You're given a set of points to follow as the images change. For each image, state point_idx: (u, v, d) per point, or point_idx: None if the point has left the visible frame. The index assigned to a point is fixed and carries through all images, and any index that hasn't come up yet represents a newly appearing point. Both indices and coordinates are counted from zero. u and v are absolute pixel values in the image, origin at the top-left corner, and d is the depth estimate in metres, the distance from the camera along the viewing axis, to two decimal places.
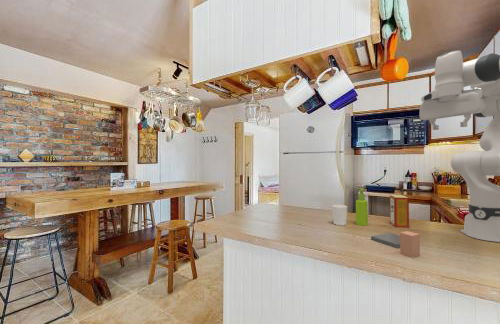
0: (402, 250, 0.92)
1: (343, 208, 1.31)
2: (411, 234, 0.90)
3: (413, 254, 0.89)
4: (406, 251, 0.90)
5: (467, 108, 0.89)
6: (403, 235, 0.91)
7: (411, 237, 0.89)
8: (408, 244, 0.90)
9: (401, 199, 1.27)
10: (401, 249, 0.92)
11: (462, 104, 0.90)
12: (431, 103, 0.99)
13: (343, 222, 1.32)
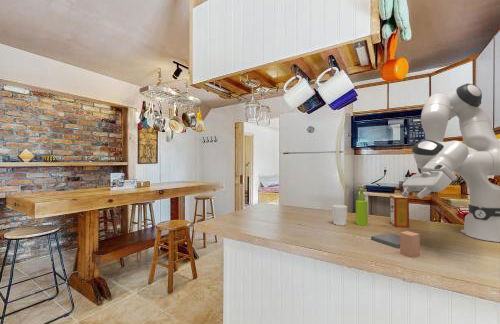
0: (402, 250, 0.92)
1: (343, 208, 1.31)
2: (411, 234, 0.90)
3: (413, 254, 0.89)
4: (406, 251, 0.90)
5: None
6: (403, 235, 0.91)
7: (411, 237, 0.89)
8: (408, 244, 0.90)
9: (401, 199, 1.27)
10: (401, 249, 0.92)
11: None
12: None
13: (343, 222, 1.32)
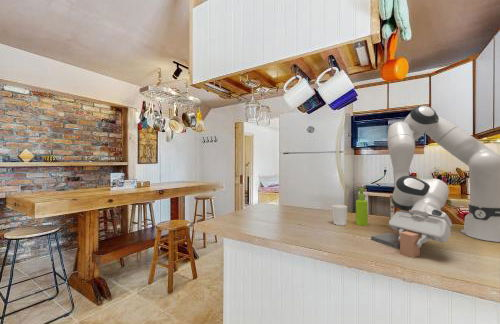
0: (402, 250, 0.92)
1: (343, 208, 1.31)
2: (411, 234, 0.90)
3: (413, 254, 0.89)
4: (406, 251, 0.90)
5: None
6: (403, 235, 0.91)
7: (411, 237, 0.89)
8: (408, 244, 0.90)
9: None
10: (401, 249, 0.92)
11: None
12: None
13: (343, 222, 1.32)
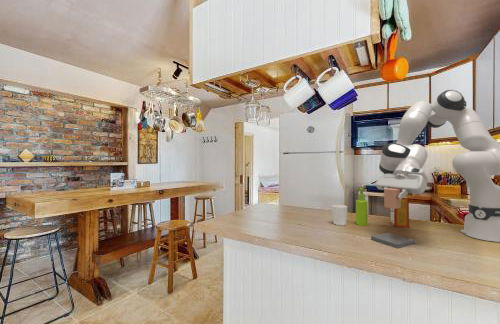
0: (386, 204, 1.06)
1: (343, 208, 1.31)
2: (393, 189, 1.04)
3: (394, 206, 1.03)
4: (389, 204, 1.04)
5: None
6: (386, 191, 1.05)
7: (393, 191, 1.03)
8: (391, 198, 1.04)
9: (401, 199, 1.27)
10: (385, 203, 1.06)
11: None
12: None
13: (343, 222, 1.32)
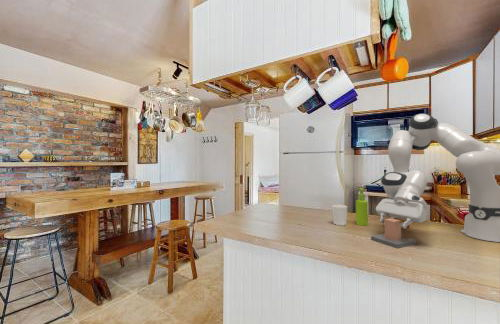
0: (386, 234, 1.06)
1: (343, 208, 1.31)
2: (393, 220, 1.04)
3: (395, 237, 1.03)
4: (389, 235, 1.04)
5: None
6: (387, 221, 1.05)
7: (393, 223, 1.03)
8: (391, 229, 1.04)
9: None
10: (385, 233, 1.06)
11: None
12: None
13: (343, 222, 1.32)
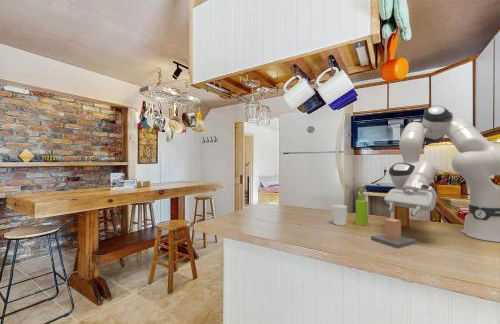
0: (386, 234, 1.06)
1: (343, 208, 1.31)
2: (393, 220, 1.04)
3: (395, 237, 1.03)
4: (389, 235, 1.04)
5: None
6: (387, 221, 1.05)
7: (393, 223, 1.03)
8: (391, 229, 1.04)
9: None
10: (385, 233, 1.06)
11: None
12: None
13: (343, 222, 1.32)
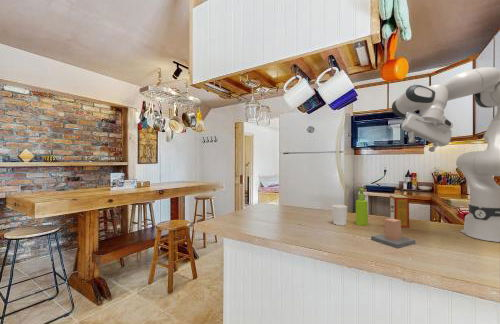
0: (386, 234, 1.06)
1: (343, 208, 1.31)
2: (393, 220, 1.04)
3: (395, 237, 1.03)
4: (389, 235, 1.04)
5: None
6: (387, 221, 1.05)
7: (393, 223, 1.03)
8: (391, 229, 1.04)
9: (401, 199, 1.27)
10: (385, 233, 1.06)
11: None
12: None
13: (343, 222, 1.32)
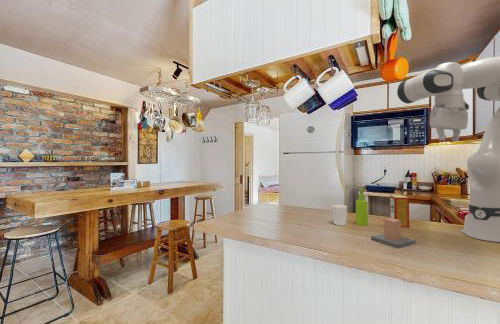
0: (386, 234, 1.06)
1: (343, 208, 1.31)
2: (393, 220, 1.04)
3: (395, 237, 1.03)
4: (389, 235, 1.04)
5: None
6: (387, 221, 1.05)
7: (393, 223, 1.03)
8: (391, 229, 1.04)
9: (401, 199, 1.27)
10: (385, 233, 1.06)
11: None
12: None
13: (343, 222, 1.32)
